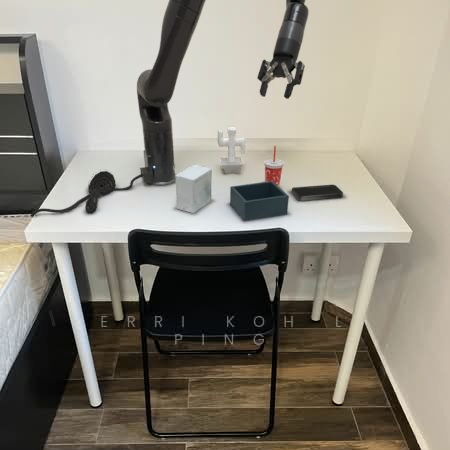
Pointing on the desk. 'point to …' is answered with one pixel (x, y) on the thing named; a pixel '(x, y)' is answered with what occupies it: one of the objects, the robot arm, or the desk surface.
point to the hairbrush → (96, 183)
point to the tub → (258, 200)
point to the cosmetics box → (193, 188)
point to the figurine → (231, 151)
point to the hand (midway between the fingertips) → (274, 96)
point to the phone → (317, 192)
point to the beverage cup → (273, 169)
